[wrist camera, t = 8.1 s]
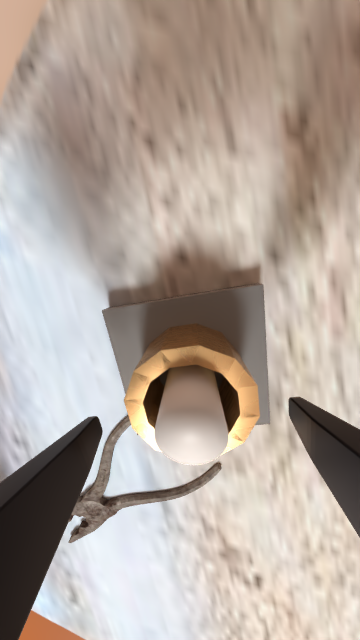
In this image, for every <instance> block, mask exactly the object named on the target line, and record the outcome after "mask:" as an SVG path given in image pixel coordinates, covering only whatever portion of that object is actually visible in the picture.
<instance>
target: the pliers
mask: <svg viewBox="0 0 360 640" xmlns="http://www.w3.org/2000/svg"><path fill="white" fill-rule="evenodd" d="M130 425H131V422H130V419H129V416H128V417H127V418H125V419H124V420H123V421H122V422H121V423H120V424H119V425H118V426H117V427H116V428H115V430H114V431H113V432H112V433H111V435H110V437H109V439H108V440H107V442H106V444H105V447H104V450H103V453H102V458H101V463H100V467H99V472H98V476H97V479H96V482H95V484H94V485H93V486H92V488H90V489H89V491H88V492H87V493H86V494H85V495H84V496H81V497H79V498H78V500H77V503H76V505H75V507H74V510H73V512H72V515H71V517H70V519H69V522H70V521H71V520H72V518H73V516H74V515H77V516H79V517H81V516H84V517H85V518H86V521H83V522H82V523H81V525H80V528H78V529H76V531H75V532H74V533H73V534H72V536H71V538H70V540H69V543H72V542H74V541H76V540H78V539H80V538H82V537H83V536H85V535H87V534H89V533H91V532H93V531H95V530H96V529H97V528H98V527H100V526H101V525H102V524H103V523H104V522H105V521H106V519H108V518H110V517H111V516H113V515H115V514H116V513H117V511H119V510H120V509H122V508H125V507H129V506H134V505H140V504H147V503H154V502H161V501H167V500H172V499H176V498H179V497H182V496H185V495H187V494H189V493H191V492H193V491H195V490H197V489H198V488H200V487H202V486H203V485H205V484H206V483H207V482H209V481H210V480H211V479H212V478H213V477H214V476H215V475H216V474H217V473H218V472H219V471H220V470H221V464H215V465H214V466H213V467H212V468H211V469H210V470H209V471H208V472H207V473H205V474H204V475H203V476H201V477H200V478H199V479H197V480H195V481H193V482H191V483H189V484H187V485H185V486H182V487H179V488H176V489H172V490H166V491H159V492H149V493H137V494H129V495H124V496H119V497H116V498H112V499H109V500H106V499H104V498H103V497H102V496H103V493H104V491H105V489H106V486H107V483H108V481H109V475H110V467H111V461H112V455H113V450H114V446H115V444H116V442H117V440H118V439H119V437H120V436H121V434H122V433H123V432H124V431H125V430H126V429H127V428H128V427H129V426H130Z"/></svg>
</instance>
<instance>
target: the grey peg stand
mask: <svg viewBox="0 0 360 640" xmlns="http://www.w3.org/2000/svg"><path fill="white" fill-rule="evenodd" d="M102 313H103V316H104V320H105V323H106V327H107V330H108V334H109V337H110V341H111V344H112V348H113V351H114V355H115V358H116V362H117V365H118V369H119V372H120V376H121V379H122V383H123V386H124V390H125V393H127V390H128V386H129V383H130V380H131V377H132V374H133V371H134V370H135V368H136V366H137V365H138V363H139V361H140V360H141V358H142V356H143V355H144V353H145V351H146V349H147V348H148V346H149V344H150V343H151V342H152V341H153V340H155V339H156V338H157V337H158V336H160V335H161V334H162V333H163V332H165V331H166V330H167V329H168V328H170V327H175V326H182V325H188V324H195V323H197V324H200V325H203V326H205V327H208V328H211V329H213V330H216V331H219V332H222V333H223V335H224V336H225V337H226V338H227V340H228V341H229V342H230V343H231V344H232V346H233V347H234V348H235V349H236V351H237V352H238V353H239V355H240V357H241V358H242V360H243V362H244V364H245V365H246V367H247V369H248V370H249V372H250V374H251V375H252V377H253V379H254V380H255V382H256V384H257V385H258V397H259V411H260V417H259V419H258V421H257V422H256V424H255V425H262V424H270V410H269V390H268V370H267V350H266V330H265V309H264V289H263V284H251V285H245V286H239V287H233V288H227V289H220V290H214V291H208V292H202V293H196V294H190V295H184V296H177V297H171V298H165V299H159V300H153V301H147V302H140V303H134V304H128V305H122V306H116V307H110V308H107V309H104V310H102ZM159 379H160V382H161V383H162V384H163V385H164V386H165V387H164V391H163V396H162V400H161V404H160V408H159V413H158V417H157V421H156V425H155V430H154V438H155V442H156V444H157V446H158V448H159V449H160V451H161V452H162V453H163V454H164V455H165V456H166V457H168V458H169V459H171V460H173V461H175V462H178V463H181V464H185V465H202V464H206V463H209V462H211V461H213V460H215V459H217V458H218V457H219V456H220V455H221V454H222V453H223V452H224V451H225V449H226V447H227V445H228V440H229V434H228V429H227V425H226V421H225V416H224V412H223V408H222V404H221V399H220V395H219V391H218V389H219V387H220V385H221V383H222V381H223V379H224V376H223V374H221V373H219V372H216V371H213V370H210V369H208V368H205V367H202V366H199V365H188V366H180V367H173V368H169V369H167V370H166V371H165V372H163V373H162V374H161V375H159ZM137 435H139V434H138V433H137Z"/></svg>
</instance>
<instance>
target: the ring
mask: <svg viewBox="0 0 360 640" xmlns="http://www.w3.org/2000/svg"><path fill="white" fill-rule="evenodd" d="M188 365H199V366H202V367H205V368H208V369H210V370H213V371H216V372H219V373H221V374H223V376H224V379H223V381H222V383H221V385H220V387H219V389H218V391H219V395H220V399H221V404H222V408H223V412H224V416H225V421H226V425H227V429H228V434H229V440H228V445H227V447H226V449H225V451H224V452H223V453H222V454H224V453H225V452H227V451H229V450H231V449H233V448H235V447H236V446H238V445H240V444H242V443H244V442H245V440H246V439H247V437H248V435H249V434H250V432H251V430H252V429H253V427H254V425H255V424H256V422H257V421H258V419H259V417H260V411H259V397H258V385H257V384H256V382H255V380H254V379H253V377H252V375H251V374H250V372H249V370H248V369H247V367H246V365H245V364H244V362H243V360H242V358H241V357H240V355H239V353H238V352H237V351H236V349H235V348H234V347H233V346H232V344H231V343H230V342H229V341H228V340H227V338H226V337H225V336H224V335H223V333H222V332H219V331H216V330H213V329H211V328H208V327H205V326H203V325H200V324H197V323H195V324H188V325H182V326H175V327H170V328H168V329H167V330H166V331H165V332H163V333H162V334H161V335H160V336H158V337H157V338H156V339H155V340H153V341H152V342H151V343H150V344H149V346H148V348H147V349H146V351H145V353H144V355H143V356H142V358H141V360H140V361H139V363H138V365H137V366H136V368H135V370H134V371H133V374H132V377H131V380H130V383H129V386H128V390H127V393H126V396H125V399H124V402H125V405H126V409H127V412H128V415H129V419H130V422H131V425H132V428H133V429H134V430H135V431H136V432H137V433H138V434H139V435H140V436H141V437H142V438H143V439H144V440H145V441H146V442H147V443H148V444H149V445H150V446H152V447H153V448H154V449H155V450H158V451H160V449H159V448H158V446H157V444H156V442H155V438H154V430H155V425H156V421H157V417H158V413H159V408H160V404H161V400H162V396H163V391H164V387H165V386H164V385H163V384H162V383H161V382H160V379H159V375H161V374H162V373H163V372H165V371H166V370H167V369H169V368H173V367H180V366H188ZM222 454H221V455H222Z"/></svg>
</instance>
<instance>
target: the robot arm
mask: <svg viewBox="0 0 360 640" xmlns="http://www.w3.org/2000/svg"><path fill="white" fill-rule="evenodd" d="M289 416H290V419H291V421H292V423H293V425H294V427H295V429H296V431H297V433H298V435H299V437H300V439H301V441H302V443H303V444H304V446H305V448H306V450H307V452H308V454H309V456H310V458H311V460H312V461H313V463H314V465H315V466H316V468H317V470H318V471H319V473H320V474H321V476H322V478H323V479H324V481H325V482H326V484H327V486H328V487H329V489H330V490H331V492H332V494H333V495H334V497H335V499H336V500H337V502H338V503H339V505H340V507H341V508H342V510H343V511H344V513H345V515H346V516H347V518H348V519H349V521H350V523H351V524H352V526H353V528H354V529H355V531H356V532H357V534H358V536H359V537H360V429H358V428H356V427H354V426H352V425H351V424H349V423H347V422H345V421H343V420H341V419H340V418H338V417H336V416H334V415H332V414H330V413H328V412H327V411H325V410H323V409H321V408H319V407H317V406H316V405H314V404H312V403H310V402H308V401H306V400H305V399H303V398H301V397H291V398H289ZM101 436H102V427H101V424H100V421H99V418H98V417H97V416H93V417H88V418H87V419H85V420H84V421H82V422H81V423H80V424H78V425H77V426H76V427H74V428H73V429H72V430H70V431H69V432H68V433H66V434H65V435H64V436H62V437H61V438H60V439H58V440H57V441H56V442H54V443H53V444H52V445H50V446H49V447H48V448H46V449H45V450H44V451H42V452H41V453H40V454H38V455H37V456H35V457H34V458H33V459H31V460H30V461H29V462H27V463H26V464H25V465H23V466H22V467H21V468H19V469H18V470H17V471H15V472H14V473H13V474H11V475H10V476H9V477H7V478H6V479H5V480H3V481H2V482H1V483H0V640H18V639H19V637H20V635H21V632H22V630H23V628H24V625H25V623H26V621H27V618H28V616H29V613H30V611H31V609H32V606H33V604H34V602H35V599H36V597H37V595H38V592H39V590H40V588H41V585H42V583H43V581H44V578H45V576H46V573H47V571H48V569H49V566H50V564H51V562H52V559H53V557H54V555H55V552H56V550H57V548H58V545H59V543H60V540H61V538H62V536H63V533H64V531H65V529H66V526H67V524H68V522H69V519H70V517H71V515H72V512H73V510H74V507H75V505H76V503H77V500H78V498H79V496H80V493H81V491H82V489H83V486H84V484H85V482H86V479H87V477H88V474H89V472H90V469H91V466H92V463H93V460H94V457H95V454H96V451H97V448H98V445H99V442H100V439H101Z"/></svg>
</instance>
